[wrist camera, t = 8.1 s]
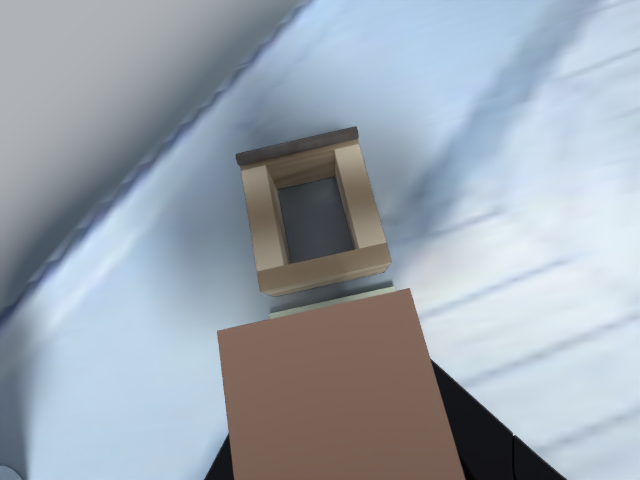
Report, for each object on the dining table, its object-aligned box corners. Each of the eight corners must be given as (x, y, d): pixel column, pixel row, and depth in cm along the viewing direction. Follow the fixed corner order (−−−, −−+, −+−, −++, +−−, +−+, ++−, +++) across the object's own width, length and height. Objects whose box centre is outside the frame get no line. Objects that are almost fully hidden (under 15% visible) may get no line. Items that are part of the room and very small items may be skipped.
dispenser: (383, 272, 20) (393, 259, 16) (274, 296, 20) (256, 289, 16) (353, 157, 22) (354, 120, 18) (254, 180, 23) (234, 148, 18)
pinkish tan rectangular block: (393, 428, 14) (543, 743, 3) (326, 443, 14) (271, 798, 3) (365, 315, 15) (410, 288, 5) (305, 328, 15) (217, 330, 5)
